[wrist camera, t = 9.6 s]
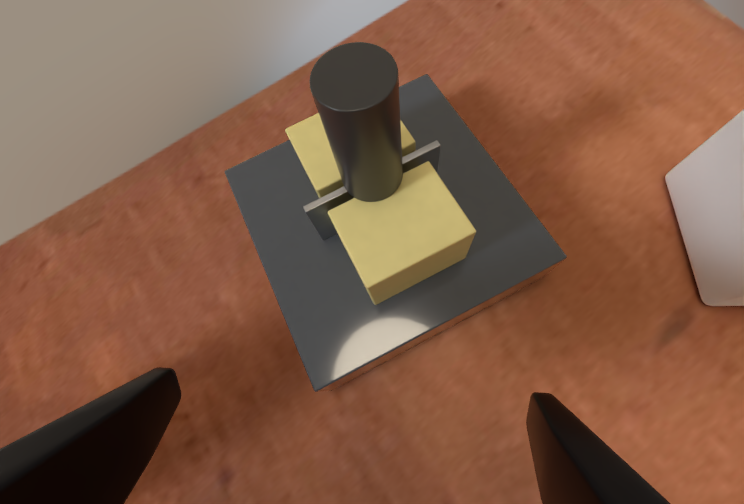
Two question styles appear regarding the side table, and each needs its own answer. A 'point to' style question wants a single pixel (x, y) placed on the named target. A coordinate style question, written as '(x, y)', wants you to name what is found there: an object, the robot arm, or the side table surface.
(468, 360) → the side table surface
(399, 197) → the butter
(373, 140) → the knife
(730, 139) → the white canister
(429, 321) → the butter dish
